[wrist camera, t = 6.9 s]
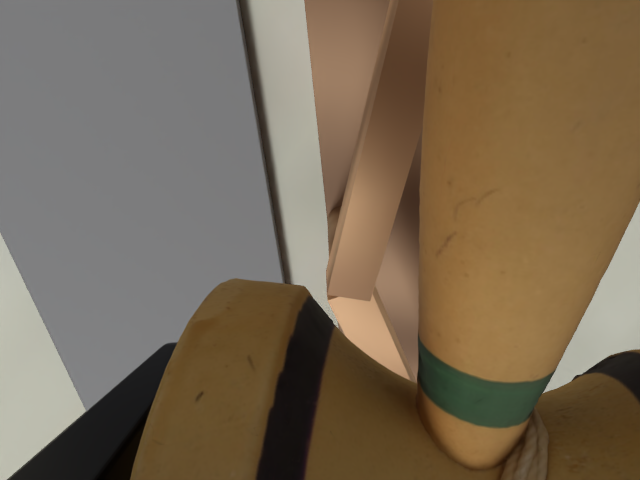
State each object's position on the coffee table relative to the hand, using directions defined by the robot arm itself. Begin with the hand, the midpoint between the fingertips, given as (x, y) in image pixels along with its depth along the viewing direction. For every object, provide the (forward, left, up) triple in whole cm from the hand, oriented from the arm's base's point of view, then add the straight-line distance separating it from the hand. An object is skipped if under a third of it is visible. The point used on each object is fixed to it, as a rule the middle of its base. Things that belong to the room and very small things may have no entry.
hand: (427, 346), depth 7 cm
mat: (-2, +9, -11) cm, 14 cm away
